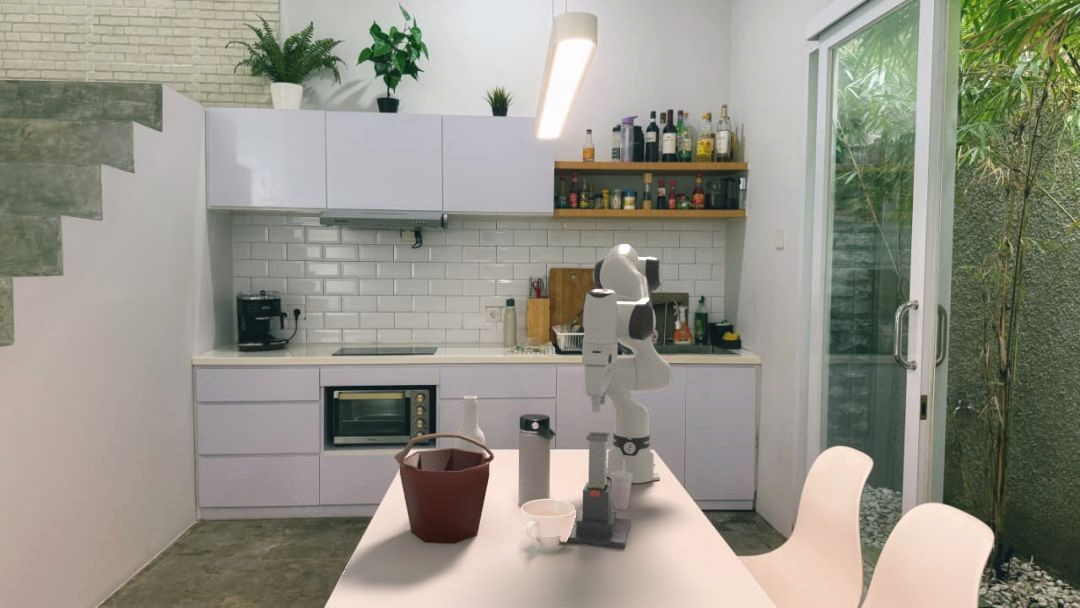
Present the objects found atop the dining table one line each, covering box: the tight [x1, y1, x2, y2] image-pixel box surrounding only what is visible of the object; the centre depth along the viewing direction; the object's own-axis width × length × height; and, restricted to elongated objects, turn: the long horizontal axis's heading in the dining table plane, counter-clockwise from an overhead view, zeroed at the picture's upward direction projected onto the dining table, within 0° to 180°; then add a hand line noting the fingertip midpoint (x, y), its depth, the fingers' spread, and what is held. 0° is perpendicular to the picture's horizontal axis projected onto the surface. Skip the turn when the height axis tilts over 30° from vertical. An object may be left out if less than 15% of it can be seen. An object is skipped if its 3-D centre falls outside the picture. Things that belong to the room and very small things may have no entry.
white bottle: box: [454, 395, 486, 453], centre depth 200 cm, size 9×9×30 cm
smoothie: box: [610, 459, 633, 511], centre depth 194 cm, size 6×6×14 cm
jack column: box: [586, 431, 611, 491], centre depth 174 cm, size 5×5×18 cm
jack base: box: [566, 481, 632, 550], centre depth 175 cm, size 16×16×12 cm
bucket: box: [394, 432, 495, 545], centre depth 175 cm, size 24×22×25 cm
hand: (598, 407), depth 174 cm, fingers open, 8 cm apart
